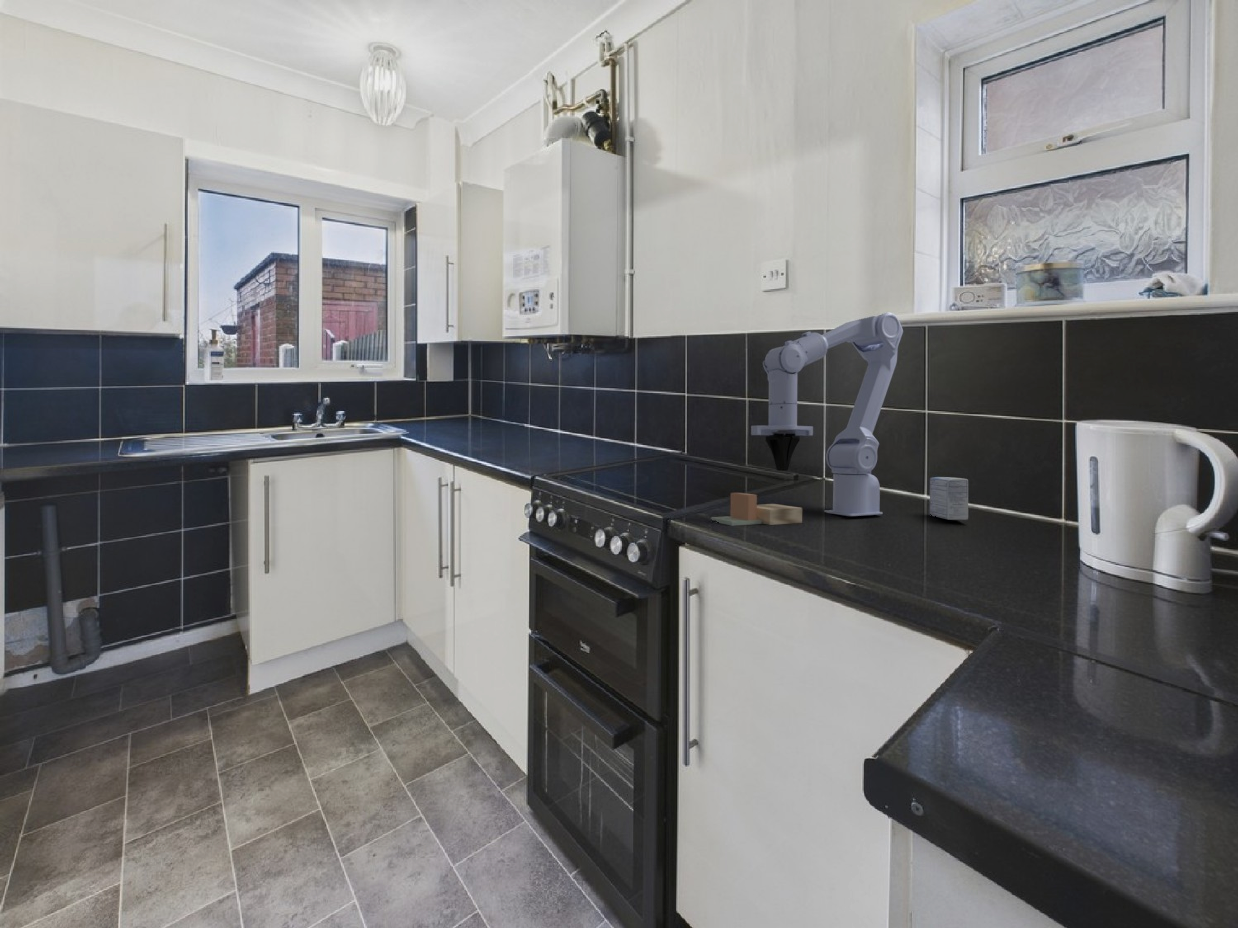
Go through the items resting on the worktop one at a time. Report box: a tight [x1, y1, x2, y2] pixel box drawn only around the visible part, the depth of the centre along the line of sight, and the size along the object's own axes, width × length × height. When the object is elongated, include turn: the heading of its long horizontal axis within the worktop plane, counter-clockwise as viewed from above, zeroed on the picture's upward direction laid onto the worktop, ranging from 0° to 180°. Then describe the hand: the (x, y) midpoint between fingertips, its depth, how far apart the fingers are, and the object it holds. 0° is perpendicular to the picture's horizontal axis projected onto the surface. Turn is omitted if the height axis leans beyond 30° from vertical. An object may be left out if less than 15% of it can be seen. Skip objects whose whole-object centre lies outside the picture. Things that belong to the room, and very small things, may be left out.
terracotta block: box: [729, 492, 758, 521], centre depth 122 cm, size 5×6×2 cm
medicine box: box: [929, 476, 969, 521], centre depth 131 cm, size 8×4×9 cm, turn 179°
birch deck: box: [757, 503, 803, 526], centre depth 124 cm, size 8×9×3 cm
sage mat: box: [710, 516, 763, 527], centre depth 122 cm, size 7×8×1 cm
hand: (782, 470), depth 126 cm, fingers closed
